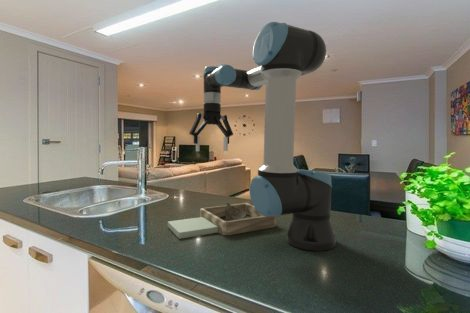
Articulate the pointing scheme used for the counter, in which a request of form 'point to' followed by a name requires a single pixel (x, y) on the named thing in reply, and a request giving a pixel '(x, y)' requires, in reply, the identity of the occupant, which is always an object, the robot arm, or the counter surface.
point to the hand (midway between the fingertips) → (211, 151)
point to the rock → (233, 213)
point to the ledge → (192, 227)
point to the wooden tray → (237, 225)
